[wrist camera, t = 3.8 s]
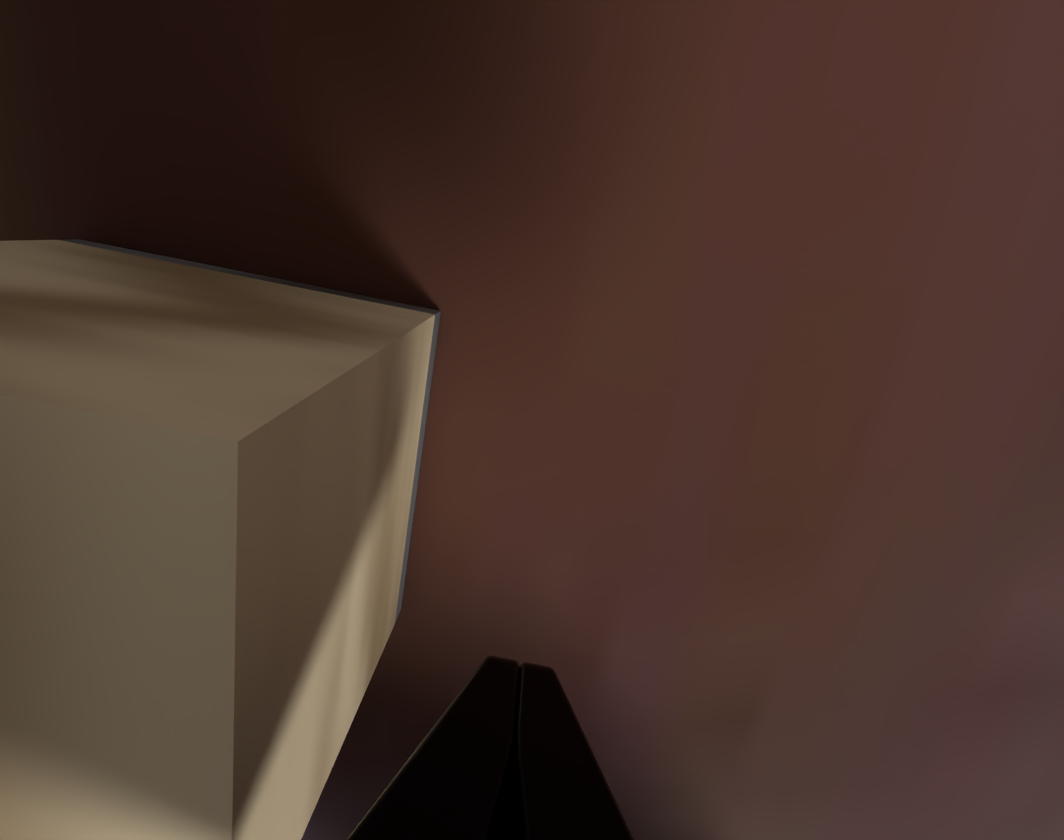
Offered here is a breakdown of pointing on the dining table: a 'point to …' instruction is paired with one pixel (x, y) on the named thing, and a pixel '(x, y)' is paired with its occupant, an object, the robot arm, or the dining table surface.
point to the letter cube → (193, 537)
